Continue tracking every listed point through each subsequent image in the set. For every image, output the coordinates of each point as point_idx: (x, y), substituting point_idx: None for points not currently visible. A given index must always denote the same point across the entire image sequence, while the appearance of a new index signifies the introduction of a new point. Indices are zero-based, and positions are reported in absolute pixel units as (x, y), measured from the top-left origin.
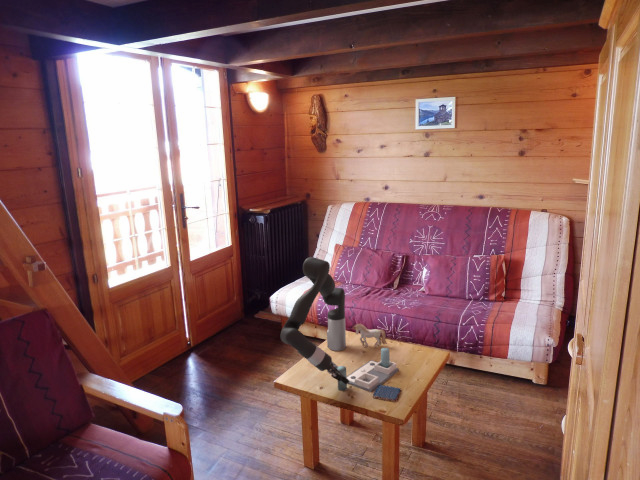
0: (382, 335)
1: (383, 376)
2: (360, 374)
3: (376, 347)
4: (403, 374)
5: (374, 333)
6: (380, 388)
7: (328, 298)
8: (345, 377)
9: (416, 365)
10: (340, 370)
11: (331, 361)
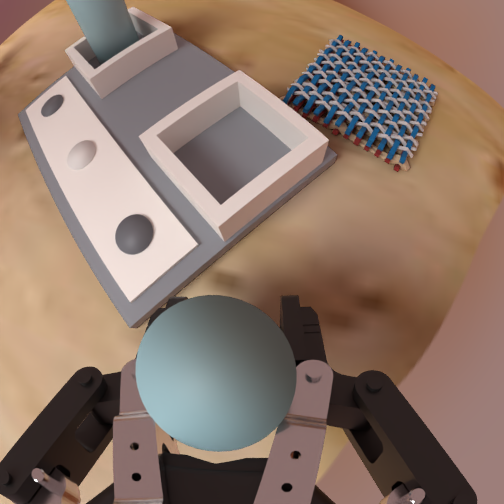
0: None
1: (188, 66)
2: (113, 175)
3: None
4: (190, 15)
5: None
6: (327, 103)
7: None
8: (290, 331)
9: None
10: (285, 412)
11: (33, 475)
